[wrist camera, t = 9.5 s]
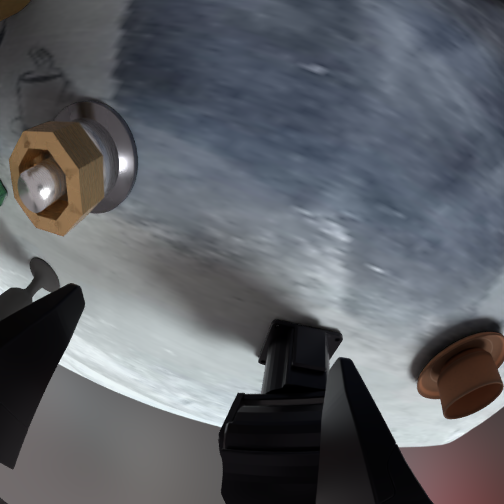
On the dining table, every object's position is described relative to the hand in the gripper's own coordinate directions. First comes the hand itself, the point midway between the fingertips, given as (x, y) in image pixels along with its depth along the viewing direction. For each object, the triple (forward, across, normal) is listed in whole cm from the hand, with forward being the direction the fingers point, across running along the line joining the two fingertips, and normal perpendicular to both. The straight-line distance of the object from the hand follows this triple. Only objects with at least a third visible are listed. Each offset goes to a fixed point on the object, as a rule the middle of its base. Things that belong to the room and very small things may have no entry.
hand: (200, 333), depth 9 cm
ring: (+9, +13, 0) cm, 16 cm away
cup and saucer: (+12, -26, +12) cm, 32 cm away
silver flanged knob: (+12, +13, 0) cm, 18 cm away
